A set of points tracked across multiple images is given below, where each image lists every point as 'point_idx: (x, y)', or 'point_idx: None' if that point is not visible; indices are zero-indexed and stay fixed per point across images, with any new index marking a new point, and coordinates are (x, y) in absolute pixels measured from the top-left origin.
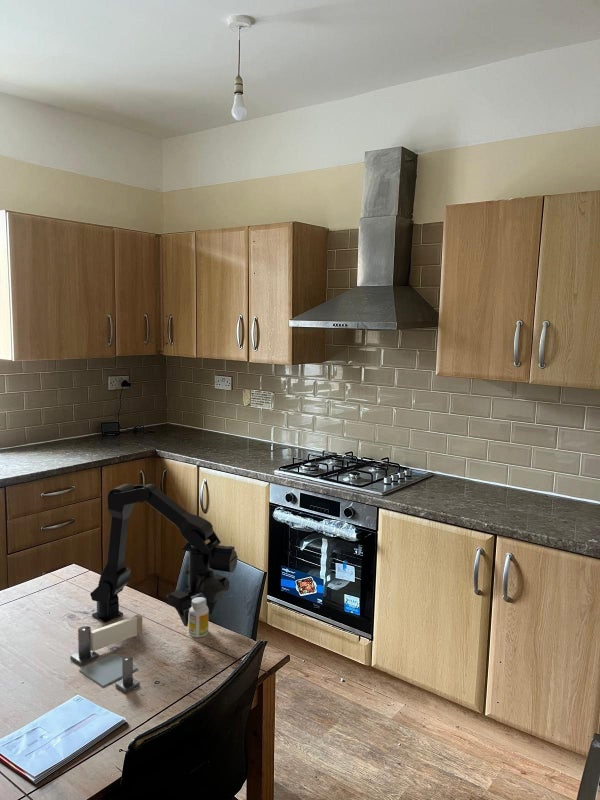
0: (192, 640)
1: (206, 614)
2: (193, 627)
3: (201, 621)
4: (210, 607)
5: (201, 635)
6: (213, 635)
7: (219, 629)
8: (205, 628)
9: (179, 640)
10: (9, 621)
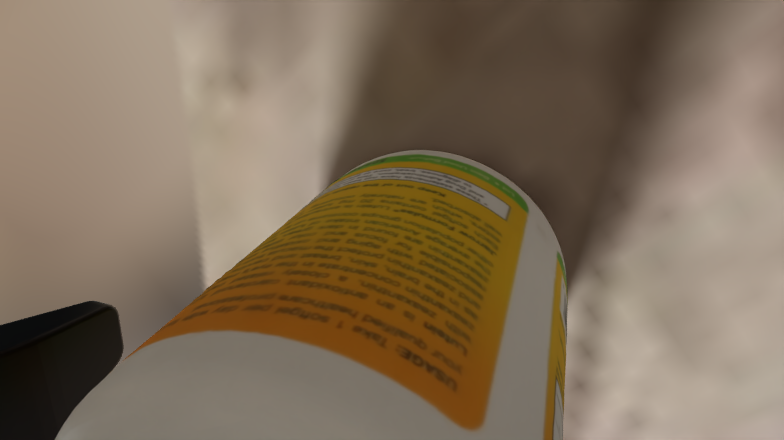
0: (649, 228)
1: (260, 322)
2: (564, 354)
3: (457, 299)
4: (8, 406)
5: (500, 179)
6: (357, 58)
7: (200, 96)
8: (409, 184)
9: (746, 377)
10: None
